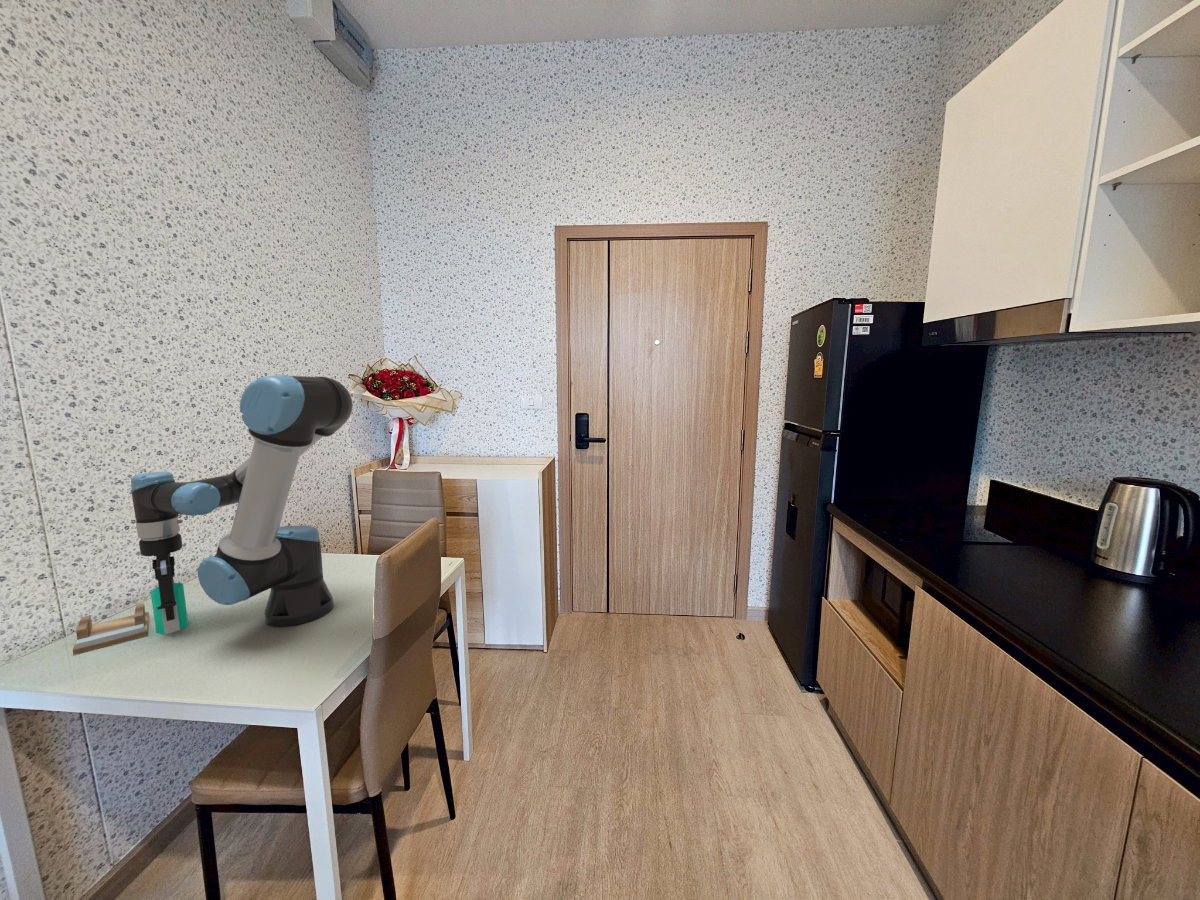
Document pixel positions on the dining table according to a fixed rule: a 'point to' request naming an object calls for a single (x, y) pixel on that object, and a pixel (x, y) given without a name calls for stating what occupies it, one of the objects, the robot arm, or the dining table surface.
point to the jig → (111, 629)
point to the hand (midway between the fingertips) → (172, 625)
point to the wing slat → (109, 635)
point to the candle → (178, 599)
